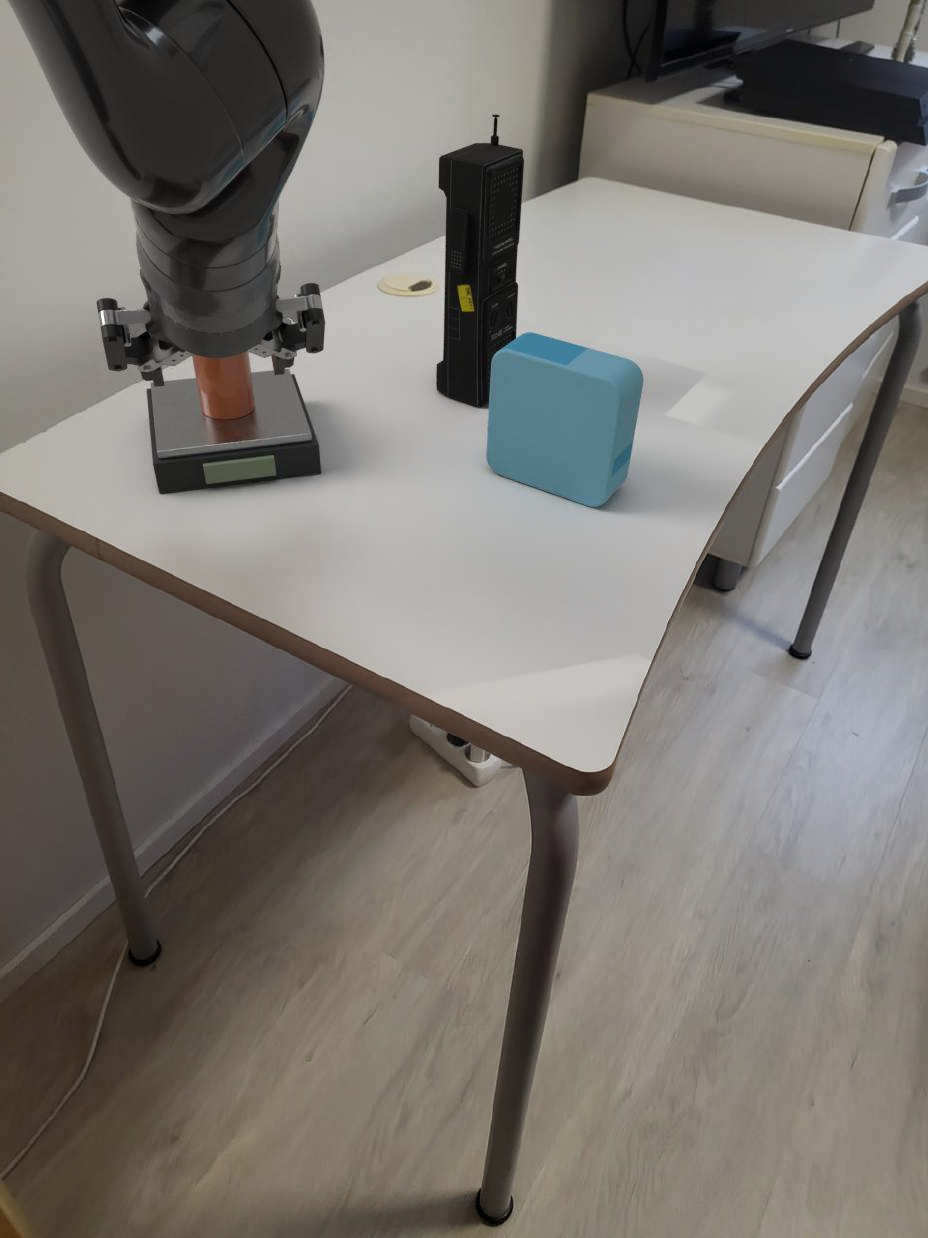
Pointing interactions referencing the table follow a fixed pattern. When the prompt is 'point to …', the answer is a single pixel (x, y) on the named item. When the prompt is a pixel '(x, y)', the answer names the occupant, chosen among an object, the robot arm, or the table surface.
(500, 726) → the table surface
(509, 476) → the data package
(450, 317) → the portable radio
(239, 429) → the scale pan
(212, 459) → the scale
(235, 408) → the spice tin
